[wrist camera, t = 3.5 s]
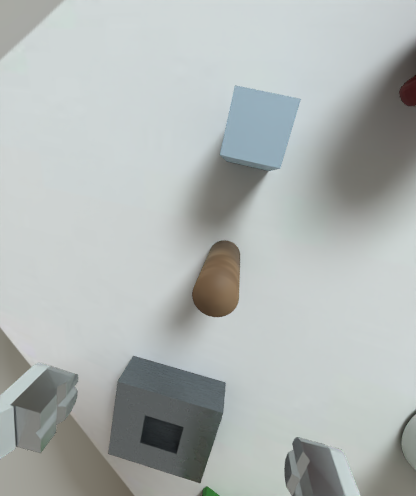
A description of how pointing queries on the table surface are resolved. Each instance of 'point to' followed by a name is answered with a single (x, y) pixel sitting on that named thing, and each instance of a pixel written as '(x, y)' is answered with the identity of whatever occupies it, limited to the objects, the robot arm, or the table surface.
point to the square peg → (258, 128)
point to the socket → (166, 418)
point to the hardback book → (209, 492)
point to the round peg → (218, 281)
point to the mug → (409, 92)
